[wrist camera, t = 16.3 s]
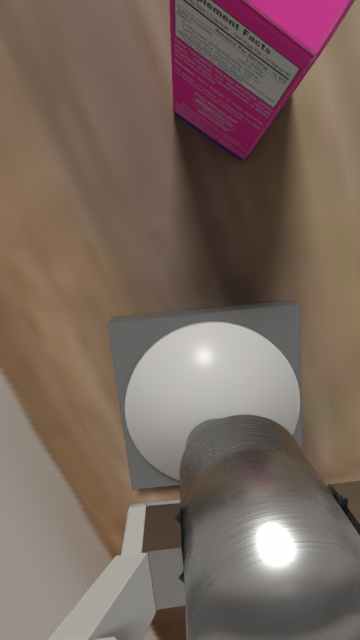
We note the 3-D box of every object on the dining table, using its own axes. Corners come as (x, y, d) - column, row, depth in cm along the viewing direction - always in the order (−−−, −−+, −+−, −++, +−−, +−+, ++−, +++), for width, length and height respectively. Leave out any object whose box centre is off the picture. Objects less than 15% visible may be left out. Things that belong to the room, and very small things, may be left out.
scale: (284, 297, 24) (309, 307, 20) (288, 455, 27) (310, 494, 22) (115, 314, 24) (102, 328, 19) (137, 471, 27) (131, 512, 22)
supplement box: (217, 23, 19) (282, -301, 8) (294, 83, 20) (451, -134, 9) (167, 112, 20) (163, -64, 9) (242, 165, 21) (325, 65, 10)
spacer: (302, 408, 11) (415, 540, 6) (303, 517, 12) (401, 711, 7) (173, 421, 11) (177, 566, 6) (185, 529, 11) (196, 733, 7)
